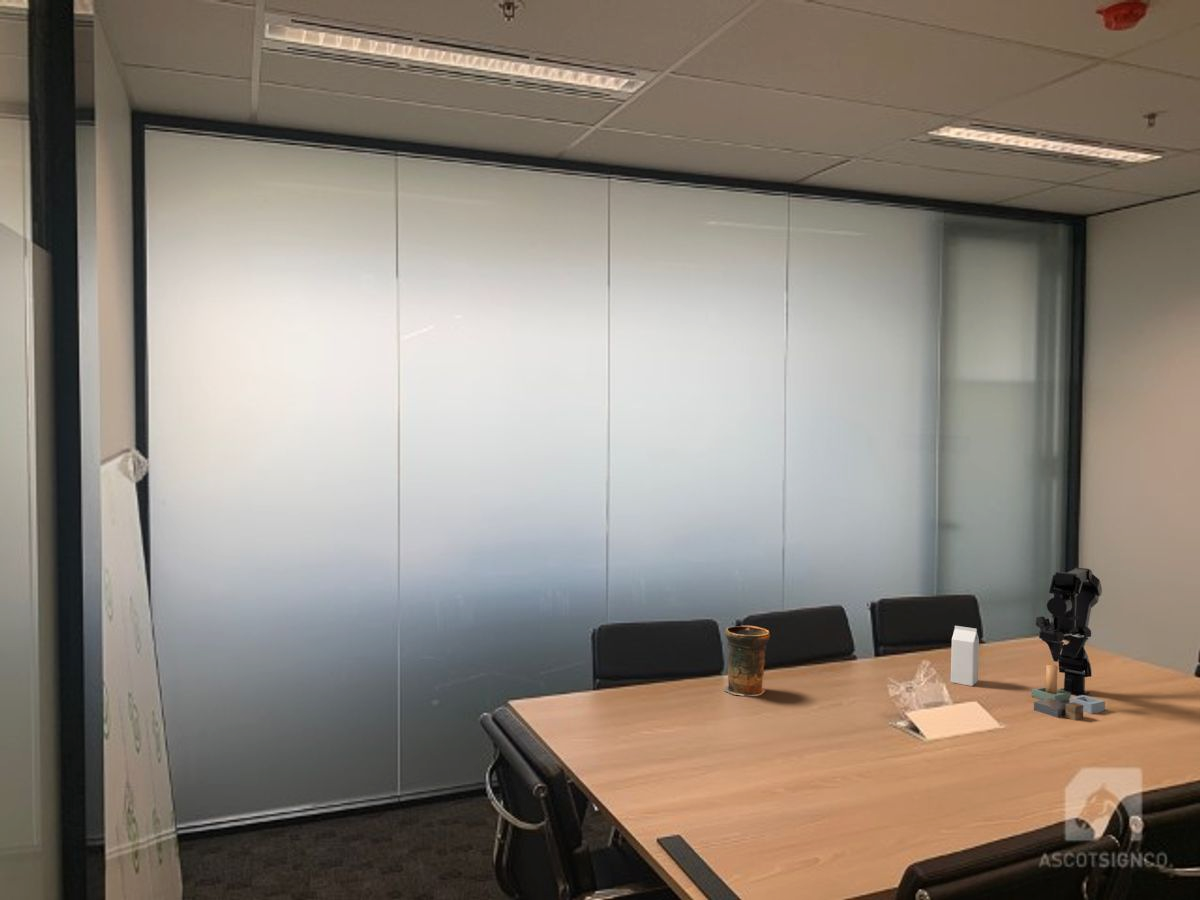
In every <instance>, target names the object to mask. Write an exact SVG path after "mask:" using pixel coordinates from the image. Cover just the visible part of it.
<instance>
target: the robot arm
mask: <svg viewBox="0 0 1200 900" xmlns="http://www.w3.org/2000/svg"><path fill="white" fill-rule="evenodd" d="M1048 592H1049V594H1052V595H1053V597H1051V598H1050V599H1048V601H1047V603H1046V608H1047V611H1048V612H1049V613H1050V614H1051V617H1050V618H1046V617H1045V616H1038V617H1036V618H1035V625H1036V627H1038V628H1039V630H1040V631H1039V632H1038V638H1039V639H1040V640H1041V641H1042V642H1045V643H1046V644H1047V646H1048V648H1049V650H1050V654H1051V657H1052V660H1053V662H1056V663H1058V671H1059V672H1058V673H1061V674H1062V673H1063V674H1064V679H1063V688H1060V689H1059V690H1063V691H1067V692H1070V693H1071V694H1070V695H1075V696H1081V695H1087V694H1090V691H1088V690H1086V678H1090V677H1092V676H1093V675H1092V667H1091V663H1090V659H1089V656H1088V653H1087V651H1086V649H1085V645H1086V642H1087V641H1088V640H1089V638H1090V637H1092V630H1091V629H1090V628H1089V623H1090V622H1089V621H1090V617H1091V611H1092V608H1093V607H1094V606H1095V605H1096V604H1097V603H1099V600H1100V599H1099V598H1100V596H1102V592H1103V588H1102V583H1101V580H1100V579H1099V578H1098V576H1095V574H1094V573H1093V570H1092V569H1089V568H1086V567H1083V568H1082V567H1074V568H1073V569H1072V570H1070V571H1068V572H1064V571H1056V572H1055V573H1054V574H1053V575H1052V577H1051V581H1050V587H1049V591H1048ZM1065 637H1067V639H1068V640H1069V642H1067V643H1065V642H1064V638H1065Z"/></svg>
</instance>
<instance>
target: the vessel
mask: <svg viewBox="0 0 1200 900" xmlns="http://www.w3.org/2000/svg"><path fill="white" fill-rule="evenodd" d="M724 635H725V637H726V639H727V649H728V659H727V661H728V662H727V664H728V666H727V667H728V670H727V681H728V685H727V686H724V690H723V691H725V692H728V693H729V694H731V695H735V696H737V695H738V696H741V697H742V696H749V697H759V696H761V695H762V694H764V693H765V692H766V691H767V690H766V688H763V679H764V675H765V671H764V669H765V664H766V660H765V657H766V650H767V643H768V642H769V640H770V639H771V635H770V631H769V629H768V630H767V629H766V628H763V627H759V626H754V625H740V626H739V625H737V626H729V627H726V629H725V634H724Z"/></svg>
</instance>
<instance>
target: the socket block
mask: <svg viewBox="0 0 1200 900" xmlns="http://www.w3.org/2000/svg"><path fill="white" fill-rule="evenodd" d="M1068 702H1069V703H1073V702H1075V703H1078V704H1082V705H1083V713H1087V714H1091V715H1092V714H1097V713H1102V712H1105V711H1106V701H1105V700H1102V699H1099V698H1095V697H1093V696H1088V695H1086V694H1083V695H1075V696H1070V701H1068Z"/></svg>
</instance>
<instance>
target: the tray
mask: <svg viewBox="0 0 1200 900" xmlns="http://www.w3.org/2000/svg"><path fill="white" fill-rule="evenodd" d="M1071 695H1072V694H1071V693H1070V692H1067V691H1063V690H1060V689H1058V688H1057V694H1050V693H1047V692H1046V685H1045V686H1041V687H1036V688H1031V698H1035V699H1036V700H1037V699H1038V700H1040V701H1041V700H1046V699H1054V700H1057V701H1060V702H1064V703H1066V702H1069V701H1070V698H1071Z"/></svg>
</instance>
